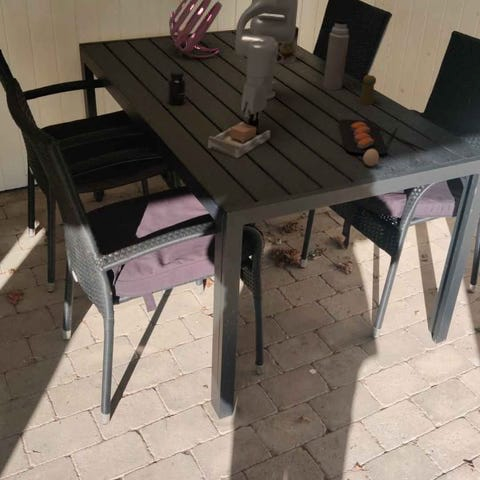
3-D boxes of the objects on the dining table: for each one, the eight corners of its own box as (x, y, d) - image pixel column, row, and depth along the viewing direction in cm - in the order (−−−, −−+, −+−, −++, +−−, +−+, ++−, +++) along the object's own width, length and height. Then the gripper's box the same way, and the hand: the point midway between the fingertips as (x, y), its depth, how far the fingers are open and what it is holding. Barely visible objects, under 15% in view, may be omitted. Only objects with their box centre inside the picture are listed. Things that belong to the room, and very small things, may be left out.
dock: (241, 131, 241) (242, 119, 238) (269, 140, 236) (270, 128, 233) (208, 149, 226) (208, 137, 224) (237, 159, 221) (237, 147, 219)
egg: (380, 166, 221) (383, 150, 218) (369, 170, 219) (372, 153, 216) (369, 160, 225) (372, 144, 222) (358, 164, 222) (361, 148, 219)
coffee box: (276, 63, 306) (279, 28, 298) (272, 59, 312) (275, 24, 303) (295, 63, 308) (299, 28, 300) (291, 59, 314) (294, 24, 305)
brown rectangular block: (241, 134, 236) (242, 122, 234) (255, 138, 233) (257, 127, 231) (228, 139, 230) (230, 127, 228) (243, 144, 227) (244, 132, 225)
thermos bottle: (344, 86, 286) (354, 20, 271) (336, 91, 280) (346, 24, 265) (327, 82, 289) (336, 16, 274) (319, 87, 283) (328, 20, 268)
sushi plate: (337, 123, 252) (338, 113, 250) (416, 128, 252) (418, 119, 250) (345, 156, 228) (346, 146, 226) (432, 162, 228) (434, 152, 226)
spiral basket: (247, 9, 309) (199, -29, 301) (232, 40, 290) (181, 0, 282) (215, 49, 328) (169, 14, 320) (199, 80, 309) (151, 44, 301)
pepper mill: (374, 101, 273) (379, 75, 267) (371, 106, 268) (375, 79, 262) (360, 98, 275) (364, 72, 269) (356, 103, 270) (360, 76, 264)
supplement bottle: (182, 106, 256) (183, 76, 250) (165, 104, 257) (165, 74, 251) (187, 100, 262) (187, 70, 255) (170, 98, 263) (170, 68, 256)
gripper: (259, 71, 232) (255, 120, 242) (235, 82, 222) (232, 133, 232) (277, 76, 229) (272, 125, 239) (254, 87, 218) (250, 139, 228)
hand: (253, 129), depth 235 cm, fingers closed
